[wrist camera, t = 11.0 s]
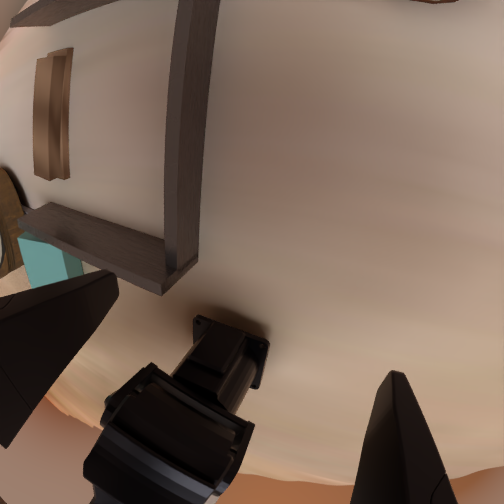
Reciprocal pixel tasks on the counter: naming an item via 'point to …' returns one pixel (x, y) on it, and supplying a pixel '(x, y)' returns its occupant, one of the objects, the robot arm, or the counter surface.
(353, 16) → the counter surface
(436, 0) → the food container
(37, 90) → the offcut top
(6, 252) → the wooden container
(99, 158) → the counter surface
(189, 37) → the rack
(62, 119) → the board
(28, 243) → the block
